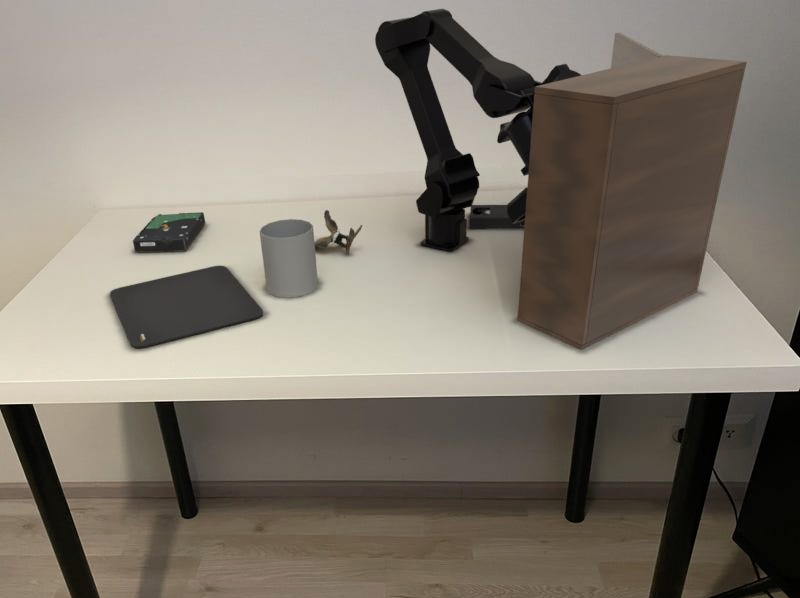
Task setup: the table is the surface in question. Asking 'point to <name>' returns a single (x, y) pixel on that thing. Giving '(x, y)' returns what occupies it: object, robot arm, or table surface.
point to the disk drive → (169, 232)
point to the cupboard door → (630, 51)
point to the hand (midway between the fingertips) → (594, 242)
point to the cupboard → (623, 192)
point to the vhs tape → (491, 218)
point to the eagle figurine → (336, 235)
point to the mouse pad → (182, 305)
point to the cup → (289, 258)
